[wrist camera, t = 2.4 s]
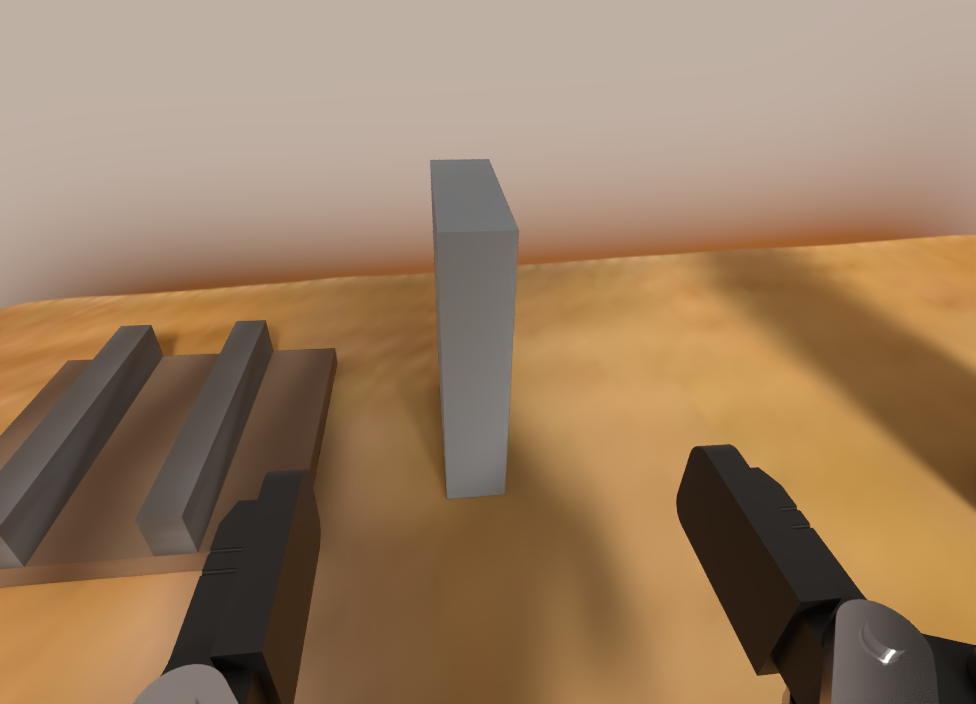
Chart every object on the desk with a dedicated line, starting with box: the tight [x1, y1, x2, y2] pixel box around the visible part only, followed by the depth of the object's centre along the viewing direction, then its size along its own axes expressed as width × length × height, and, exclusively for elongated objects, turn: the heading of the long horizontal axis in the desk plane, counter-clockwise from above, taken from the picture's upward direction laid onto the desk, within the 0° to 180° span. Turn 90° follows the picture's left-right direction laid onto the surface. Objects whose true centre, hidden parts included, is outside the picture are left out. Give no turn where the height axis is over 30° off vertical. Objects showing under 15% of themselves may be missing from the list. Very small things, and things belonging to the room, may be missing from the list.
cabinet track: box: [0, 320, 337, 587], centre depth 24 cm, size 14×13×3 cm
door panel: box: [430, 159, 519, 499], centre depth 23 cm, size 2×8×12 cm, turn 6°
